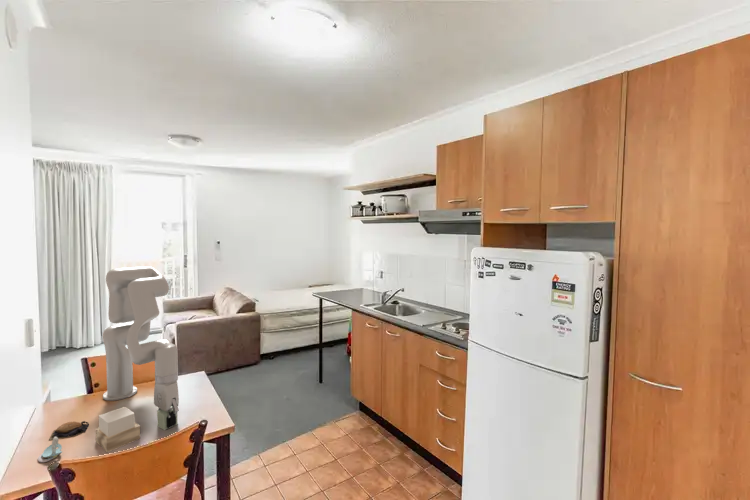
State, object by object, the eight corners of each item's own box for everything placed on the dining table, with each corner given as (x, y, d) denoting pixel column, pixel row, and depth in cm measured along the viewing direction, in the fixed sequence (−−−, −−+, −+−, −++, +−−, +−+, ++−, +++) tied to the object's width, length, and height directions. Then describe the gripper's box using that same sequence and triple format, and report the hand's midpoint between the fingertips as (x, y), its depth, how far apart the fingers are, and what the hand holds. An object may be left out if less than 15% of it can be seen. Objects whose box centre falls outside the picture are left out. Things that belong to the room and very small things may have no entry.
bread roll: (47, 443, 127) (47, 433, 127) (54, 431, 134) (53, 421, 134) (85, 435, 132) (85, 425, 132) (90, 423, 139) (89, 414, 139)
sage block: (157, 425, 138) (157, 410, 138) (171, 420, 142) (170, 405, 142) (163, 430, 135) (163, 414, 135) (177, 424, 139) (177, 409, 139)
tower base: (96, 442, 127) (95, 428, 127) (128, 429, 135) (127, 417, 135) (107, 453, 122) (106, 438, 121) (140, 439, 130) (139, 425, 129)
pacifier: (37, 466, 114) (62, 458, 118) (36, 448, 114) (61, 440, 118) (37, 455, 120) (61, 447, 124) (36, 437, 119) (60, 430, 123)
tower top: (99, 429, 127) (98, 415, 126) (125, 419, 133) (124, 406, 133) (108, 437, 122) (108, 423, 122) (134, 426, 129) (134, 413, 128)
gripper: (145, 375, 139) (146, 420, 140) (167, 386, 130) (168, 435, 131) (165, 368, 145) (166, 412, 147) (188, 379, 136) (189, 426, 137)
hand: (167, 423), depth 139 cm, fingers closed on sage block, 5 cm apart
